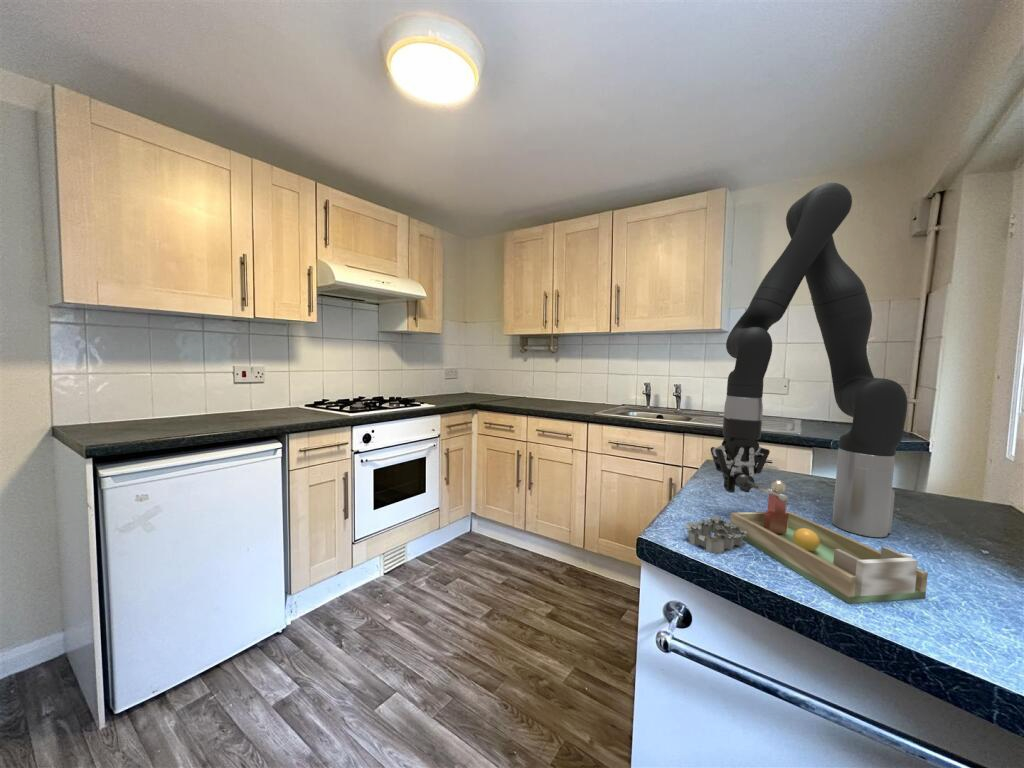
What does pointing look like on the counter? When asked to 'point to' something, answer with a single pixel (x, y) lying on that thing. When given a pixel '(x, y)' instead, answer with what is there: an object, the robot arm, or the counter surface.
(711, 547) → the egg carton
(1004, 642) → the counter surface
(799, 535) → the ball
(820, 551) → the wooden tray
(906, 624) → the counter surface
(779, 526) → the foosball player rod
